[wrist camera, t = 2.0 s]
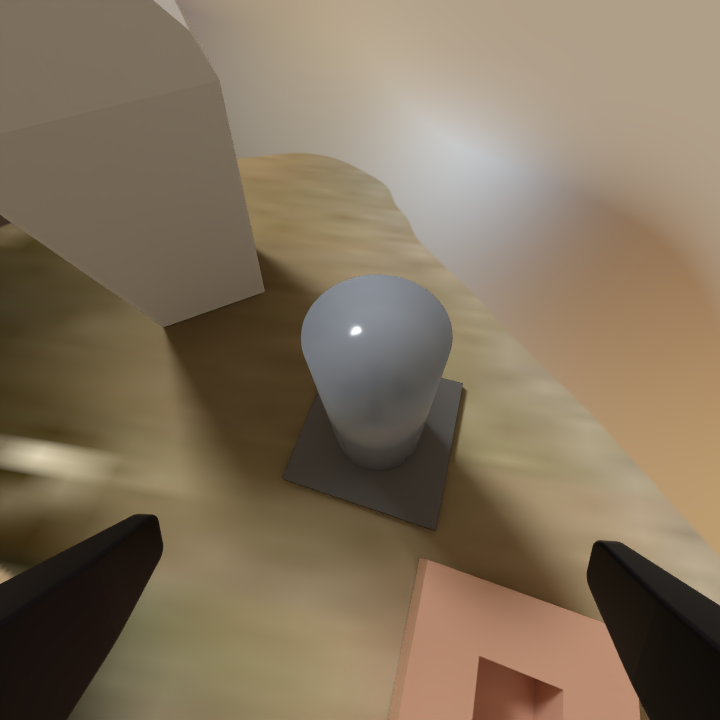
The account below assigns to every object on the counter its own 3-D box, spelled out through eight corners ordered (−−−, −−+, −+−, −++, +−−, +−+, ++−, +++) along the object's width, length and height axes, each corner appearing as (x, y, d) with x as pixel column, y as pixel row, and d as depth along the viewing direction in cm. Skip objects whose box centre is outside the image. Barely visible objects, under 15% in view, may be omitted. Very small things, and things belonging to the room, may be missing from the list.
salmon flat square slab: (588, 880, 12) (658, 991, 9) (376, 774, 14) (375, 838, 11) (585, 617, 16) (634, 633, 13) (419, 558, 17) (427, 559, 14)
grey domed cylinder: (409, 483, 19) (435, 419, 10) (324, 455, 20) (276, 376, 11) (428, 401, 21) (463, 289, 12) (351, 381, 22) (331, 263, 13)
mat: (434, 530, 18) (435, 530, 18) (283, 479, 20) (282, 477, 19) (461, 385, 22) (462, 383, 22) (335, 354, 24) (334, 351, 23)
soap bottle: (260, 219, 32) (-21, -555, 10) (291, 290, 27) (-127, -929, 5) (129, 260, 30) (-604, -588, 8) (137, 345, 25) (-1772, -1275, 3)
